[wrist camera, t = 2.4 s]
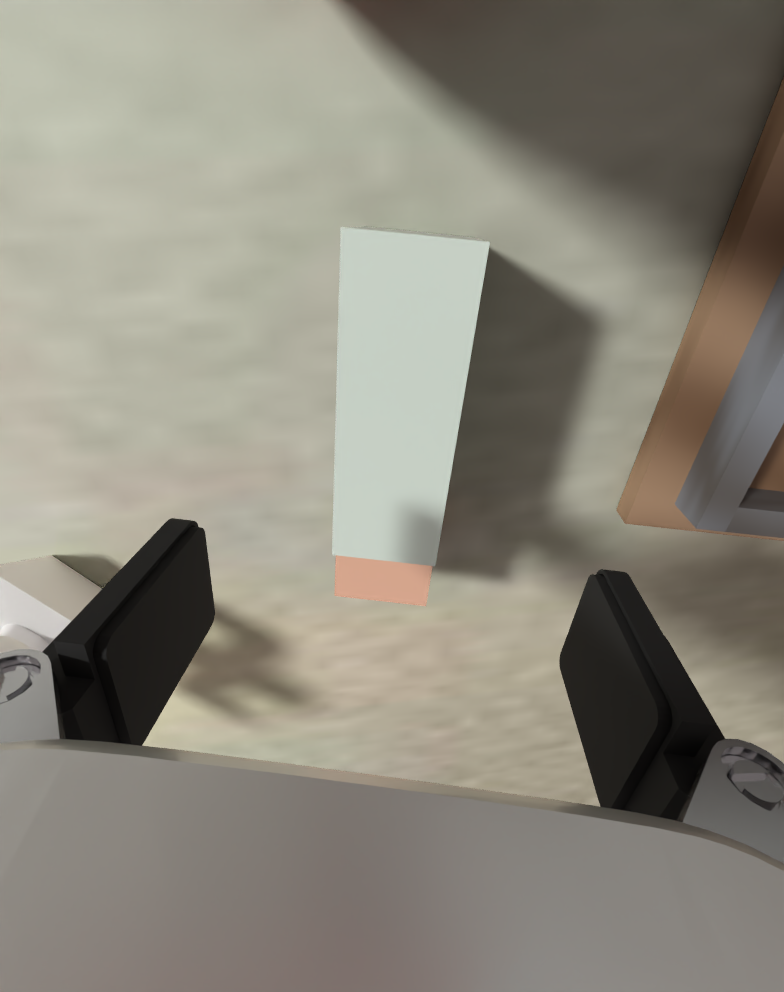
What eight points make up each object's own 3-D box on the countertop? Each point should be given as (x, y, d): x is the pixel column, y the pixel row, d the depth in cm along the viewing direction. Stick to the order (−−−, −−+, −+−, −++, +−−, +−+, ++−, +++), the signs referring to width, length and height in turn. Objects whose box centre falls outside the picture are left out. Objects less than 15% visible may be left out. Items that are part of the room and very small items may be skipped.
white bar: (366, 226, 18) (340, 227, 13) (471, 236, 18) (490, 242, 12) (351, 531, 25) (330, 612, 20) (426, 539, 25) (425, 622, 20)
